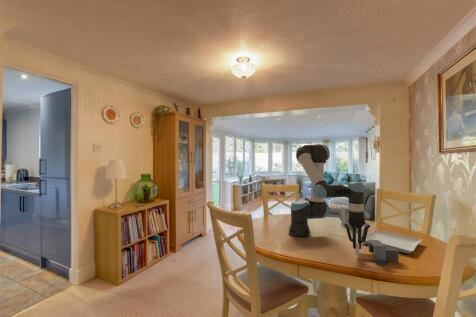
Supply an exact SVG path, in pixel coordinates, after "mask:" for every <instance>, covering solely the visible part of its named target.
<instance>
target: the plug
mask: <svg viewBox="0 0 476 317" xmlns="http://www.w3.org/2000/svg"><path fill="white" fill-rule="evenodd" d="M399 257H400V258H401V254H399V252H398V251H397V250H396V249H395V248H394V247H386V263H394V264H395V263H396V264H399ZM357 258H358V259H360V260H368V261H374V252H369V251H362V250H361V251H360V250H359V256H357Z"/></svg>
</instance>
